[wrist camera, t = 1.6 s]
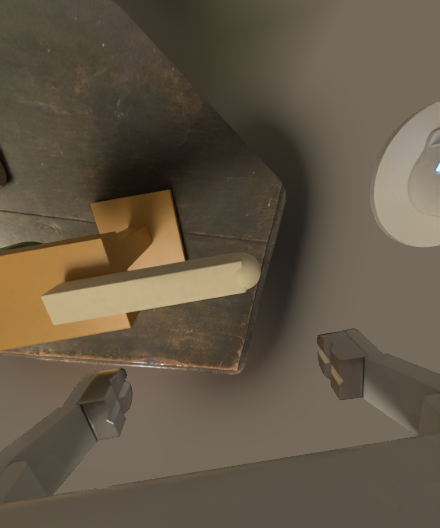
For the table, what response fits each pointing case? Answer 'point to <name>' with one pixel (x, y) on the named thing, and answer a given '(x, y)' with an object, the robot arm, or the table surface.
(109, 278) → the switch rod
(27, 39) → the table surface
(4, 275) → the desk lamp
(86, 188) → the table surface
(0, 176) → the sculpture
